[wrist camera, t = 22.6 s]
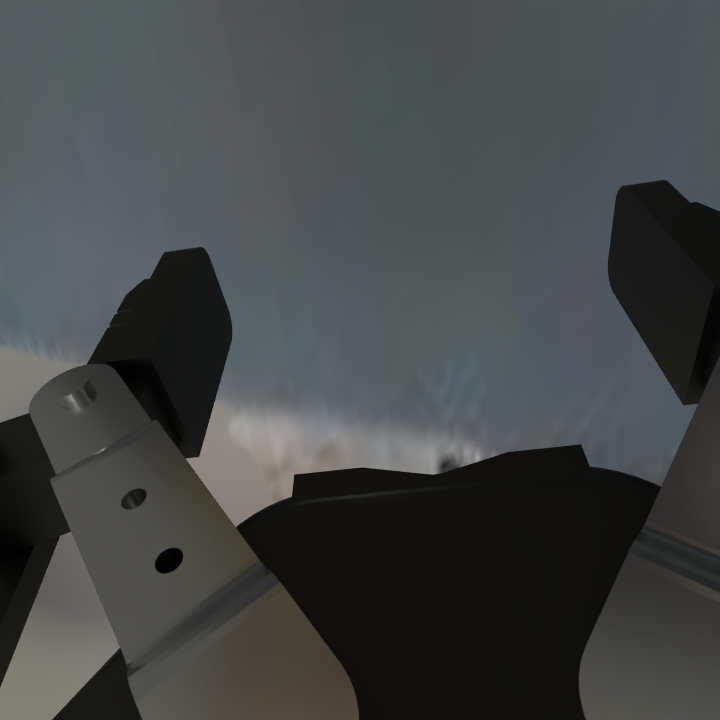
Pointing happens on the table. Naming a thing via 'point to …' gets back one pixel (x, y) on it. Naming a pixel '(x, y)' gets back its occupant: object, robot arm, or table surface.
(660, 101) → the table surface
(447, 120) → the table surface
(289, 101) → the table surface
